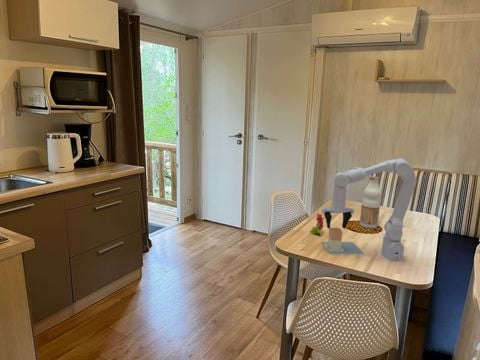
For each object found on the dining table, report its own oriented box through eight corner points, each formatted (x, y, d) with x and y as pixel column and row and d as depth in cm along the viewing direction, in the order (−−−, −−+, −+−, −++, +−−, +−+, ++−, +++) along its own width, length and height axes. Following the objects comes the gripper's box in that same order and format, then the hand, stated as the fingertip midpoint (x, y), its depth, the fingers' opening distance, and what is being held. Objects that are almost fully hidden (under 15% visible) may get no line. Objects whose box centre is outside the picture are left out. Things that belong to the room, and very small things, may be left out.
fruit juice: (358, 227, 199) (364, 177, 193) (360, 222, 207) (366, 174, 201) (376, 230, 195) (383, 179, 189) (377, 224, 204) (383, 176, 198)
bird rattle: (312, 235, 189) (308, 233, 181) (316, 214, 191) (312, 212, 183) (324, 237, 187) (320, 236, 179) (328, 216, 188) (325, 214, 180)
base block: (340, 249, 165) (341, 240, 164) (330, 249, 165) (331, 240, 164) (336, 245, 170) (337, 236, 169) (327, 245, 169) (328, 236, 168)
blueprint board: (364, 255, 162) (365, 254, 161) (330, 255, 160) (330, 253, 160) (352, 243, 175) (353, 241, 175) (320, 243, 174) (321, 241, 174)
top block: (341, 240, 164) (342, 231, 163) (331, 240, 164) (332, 231, 163) (337, 236, 169) (338, 227, 168) (328, 236, 168) (329, 227, 167)
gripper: (351, 197, 167) (348, 225, 170) (320, 196, 165) (318, 224, 168) (357, 201, 160) (353, 230, 163) (325, 200, 158) (322, 230, 161)
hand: (336, 227), depth 165 cm, fingers open, 7 cm apart
